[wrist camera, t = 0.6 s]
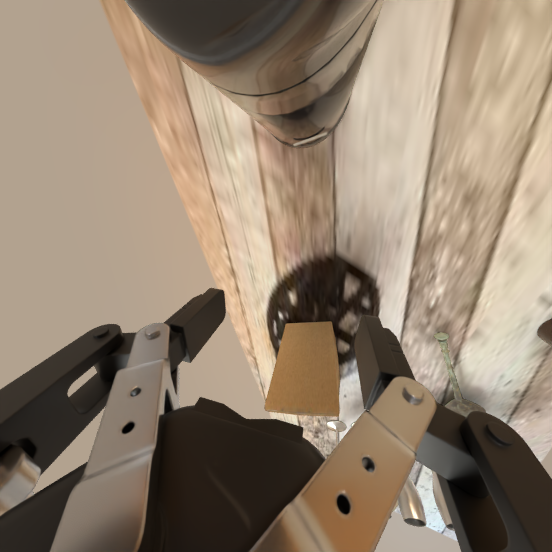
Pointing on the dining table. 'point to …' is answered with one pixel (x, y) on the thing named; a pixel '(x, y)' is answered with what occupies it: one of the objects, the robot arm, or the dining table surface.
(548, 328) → the pepper mill
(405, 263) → the dining table surface
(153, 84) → the dining table surface
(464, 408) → the soupspoon
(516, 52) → the dining table surface
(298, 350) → the sandwich container
